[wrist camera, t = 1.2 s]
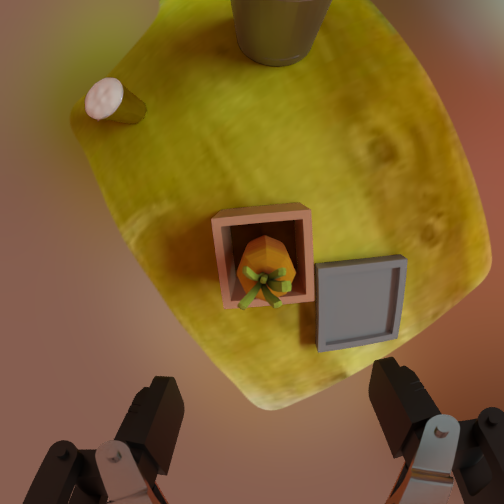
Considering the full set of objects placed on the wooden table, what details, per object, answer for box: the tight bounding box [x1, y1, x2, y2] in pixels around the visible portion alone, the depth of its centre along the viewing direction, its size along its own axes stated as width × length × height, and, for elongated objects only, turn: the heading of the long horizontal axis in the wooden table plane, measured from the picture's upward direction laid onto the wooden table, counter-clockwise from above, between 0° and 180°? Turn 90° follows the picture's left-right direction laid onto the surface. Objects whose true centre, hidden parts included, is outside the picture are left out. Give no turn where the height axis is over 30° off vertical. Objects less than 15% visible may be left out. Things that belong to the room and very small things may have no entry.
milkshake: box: [85, 78, 147, 124], centre depth 24 cm, size 4×5×10 cm
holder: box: [211, 202, 314, 309], centre depth 29 cm, size 9×9×7 cm
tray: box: [315, 254, 407, 352], centre depth 33 cm, size 12×12×2 cm
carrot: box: [237, 235, 296, 310], centre depth 25 cm, size 5×5×15 cm
